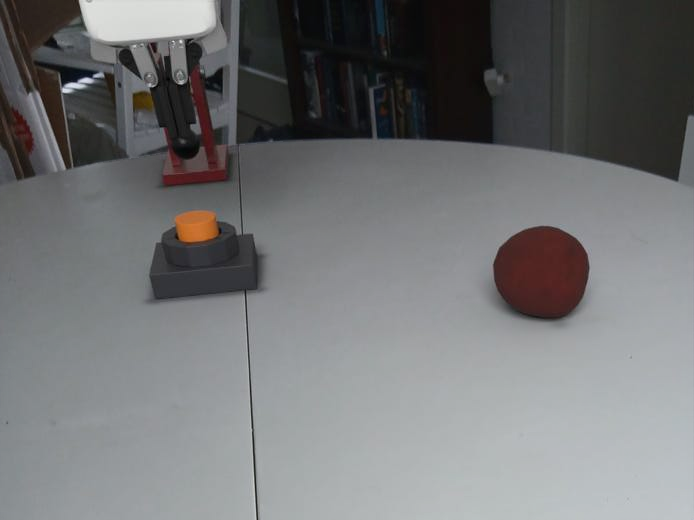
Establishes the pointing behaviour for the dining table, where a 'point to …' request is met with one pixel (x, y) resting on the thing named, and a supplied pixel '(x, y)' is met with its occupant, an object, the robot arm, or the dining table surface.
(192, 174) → the red lever stand
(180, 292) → the control block
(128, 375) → the dining table surface
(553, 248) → the potato
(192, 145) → the black ball lever
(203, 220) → the button
